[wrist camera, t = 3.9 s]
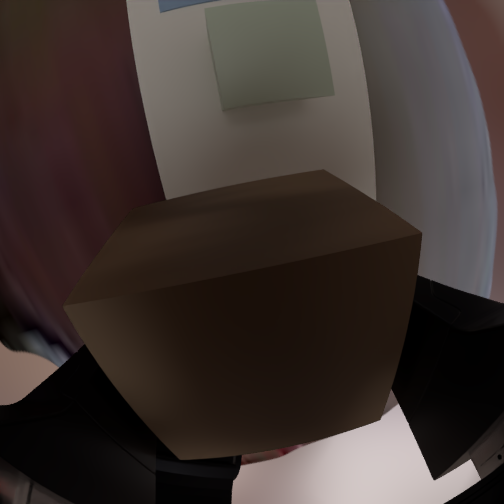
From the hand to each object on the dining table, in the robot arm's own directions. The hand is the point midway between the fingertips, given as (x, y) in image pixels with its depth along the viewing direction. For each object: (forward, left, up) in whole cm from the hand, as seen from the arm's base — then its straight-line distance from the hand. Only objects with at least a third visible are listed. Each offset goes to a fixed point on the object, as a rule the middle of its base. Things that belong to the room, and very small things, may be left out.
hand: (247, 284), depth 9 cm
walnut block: (0, 0, -1) cm, 1 cm away
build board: (+3, +9, -11) cm, 15 cm away
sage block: (+3, +8, -10) cm, 13 cm away
